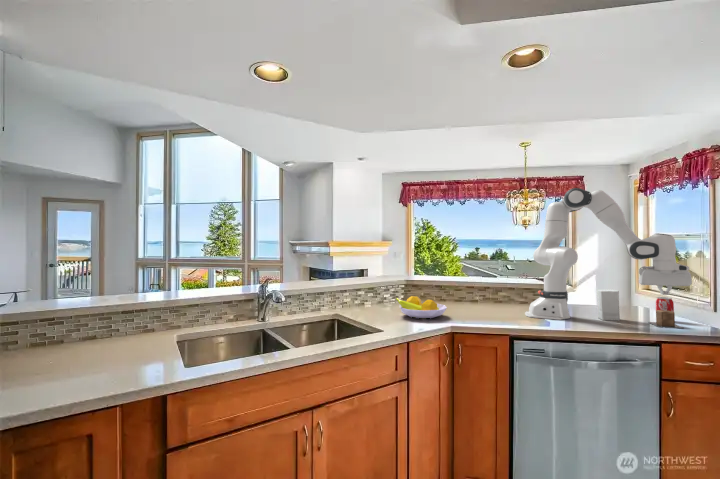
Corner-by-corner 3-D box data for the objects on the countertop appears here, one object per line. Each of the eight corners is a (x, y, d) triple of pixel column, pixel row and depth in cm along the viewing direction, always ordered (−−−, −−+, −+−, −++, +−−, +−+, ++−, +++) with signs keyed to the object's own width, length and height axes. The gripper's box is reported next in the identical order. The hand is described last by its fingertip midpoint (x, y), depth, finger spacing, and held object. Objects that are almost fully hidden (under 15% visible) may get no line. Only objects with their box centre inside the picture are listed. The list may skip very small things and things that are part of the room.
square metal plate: (658, 327, 169) (658, 314, 169) (648, 322, 178) (648, 311, 178) (683, 328, 166) (683, 316, 166) (672, 323, 175) (672, 312, 175)
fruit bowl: (442, 312, 211) (442, 293, 211) (449, 322, 184) (449, 300, 184) (395, 311, 214) (395, 293, 214) (395, 321, 187) (395, 300, 187)
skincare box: (615, 318, 189) (614, 289, 189) (620, 321, 182) (619, 291, 183) (597, 317, 191) (596, 289, 191) (601, 320, 185) (601, 290, 185)
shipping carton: (661, 325, 170) (661, 311, 170) (656, 323, 175) (656, 310, 175) (674, 326, 169) (674, 312, 169) (669, 323, 174) (668, 310, 174)
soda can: (677, 322, 178) (677, 299, 178) (661, 322, 179) (660, 298, 179) (668, 319, 185) (667, 296, 185) (652, 319, 186) (652, 296, 186)
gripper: (641, 266, 172) (642, 294, 172) (693, 267, 166) (694, 296, 166) (636, 265, 178) (636, 293, 178) (685, 266, 172) (686, 294, 172)
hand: (664, 294), depth 172 cm, fingers closed
